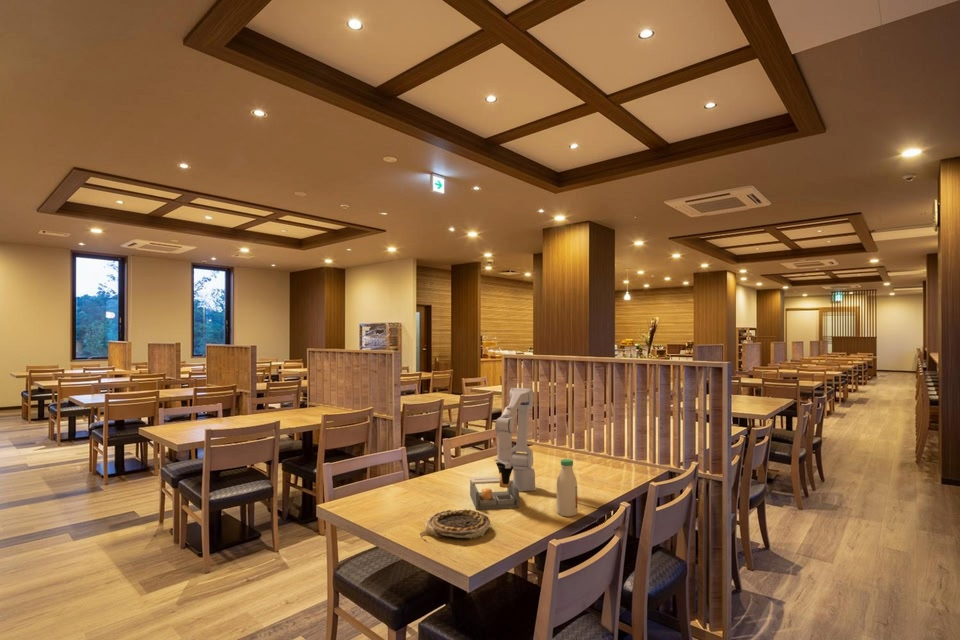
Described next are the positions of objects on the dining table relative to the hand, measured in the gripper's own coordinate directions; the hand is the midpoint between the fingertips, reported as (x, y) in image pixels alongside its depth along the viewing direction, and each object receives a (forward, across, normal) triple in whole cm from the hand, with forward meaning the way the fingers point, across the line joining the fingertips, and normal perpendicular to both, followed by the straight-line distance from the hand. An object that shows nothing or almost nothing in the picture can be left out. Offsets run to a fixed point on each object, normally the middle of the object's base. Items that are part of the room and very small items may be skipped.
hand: (504, 482), depth 200 cm
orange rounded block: (+2, 0, 0) cm, 2 cm away
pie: (+10, +25, -21) cm, 34 cm away
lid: (+2, -10, -4) cm, 11 cm away
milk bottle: (+9, +14, +21) cm, 27 cm away
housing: (+9, -4, -4) cm, 11 cm away
